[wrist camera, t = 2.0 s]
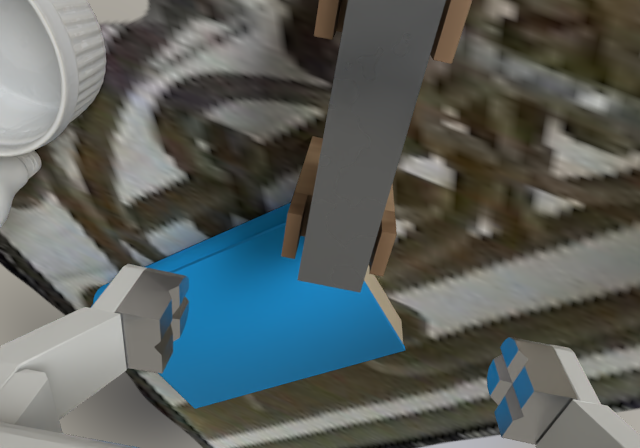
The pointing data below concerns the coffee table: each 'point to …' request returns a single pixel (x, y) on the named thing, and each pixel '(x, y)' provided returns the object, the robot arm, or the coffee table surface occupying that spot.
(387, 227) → the post
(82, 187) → the coffee table surface
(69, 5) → the ramekin
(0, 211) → the lightbulb
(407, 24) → the rail
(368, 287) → the book
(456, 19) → the post
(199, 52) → the coffee table surface
